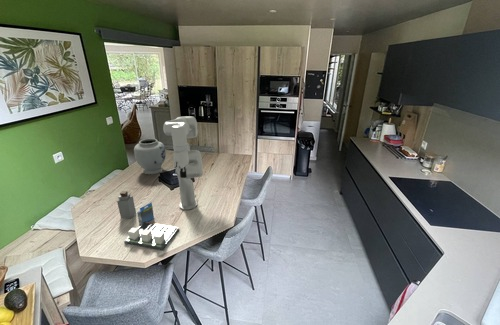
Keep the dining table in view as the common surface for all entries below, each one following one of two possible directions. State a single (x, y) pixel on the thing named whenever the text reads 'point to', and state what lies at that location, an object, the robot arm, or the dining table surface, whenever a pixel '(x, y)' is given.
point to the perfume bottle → (126, 205)
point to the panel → (168, 232)
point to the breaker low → (133, 233)
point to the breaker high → (159, 237)
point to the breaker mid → (146, 235)
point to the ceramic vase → (150, 155)
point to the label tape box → (145, 213)
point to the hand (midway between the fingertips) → (183, 177)
